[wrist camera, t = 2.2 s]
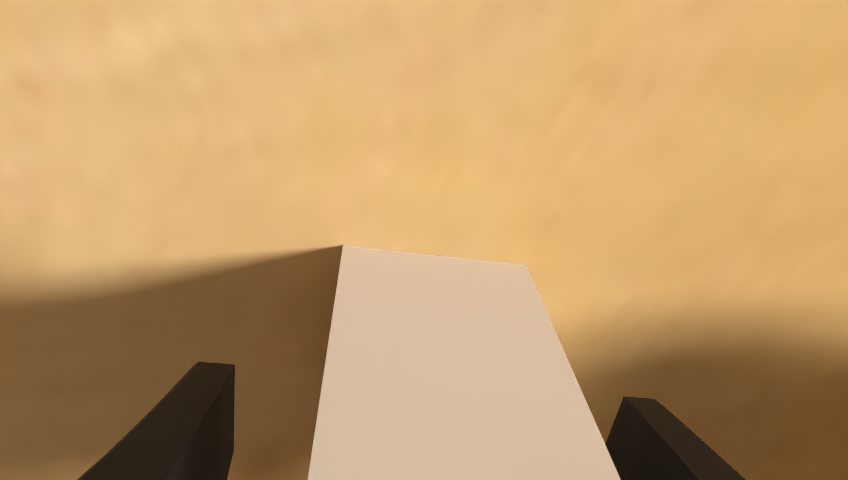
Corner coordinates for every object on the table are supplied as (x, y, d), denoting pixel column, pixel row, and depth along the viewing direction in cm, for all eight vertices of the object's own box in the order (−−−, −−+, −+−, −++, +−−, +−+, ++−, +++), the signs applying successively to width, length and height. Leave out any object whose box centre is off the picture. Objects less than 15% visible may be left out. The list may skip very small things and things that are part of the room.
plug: (526, 264, 13) (682, 620, 6) (490, 405, 15) (580, 805, 8) (342, 245, 12) (289, 606, 6) (328, 392, 14) (272, 805, 7)
